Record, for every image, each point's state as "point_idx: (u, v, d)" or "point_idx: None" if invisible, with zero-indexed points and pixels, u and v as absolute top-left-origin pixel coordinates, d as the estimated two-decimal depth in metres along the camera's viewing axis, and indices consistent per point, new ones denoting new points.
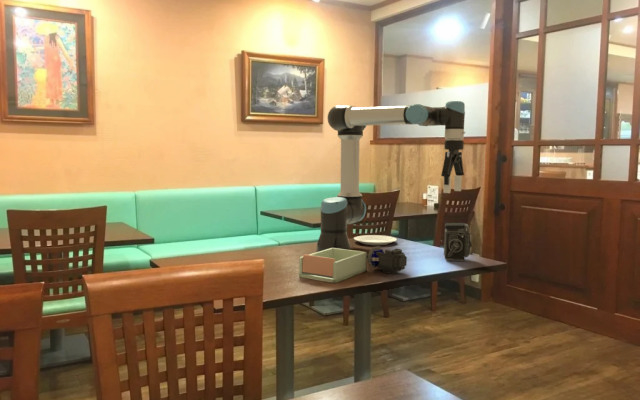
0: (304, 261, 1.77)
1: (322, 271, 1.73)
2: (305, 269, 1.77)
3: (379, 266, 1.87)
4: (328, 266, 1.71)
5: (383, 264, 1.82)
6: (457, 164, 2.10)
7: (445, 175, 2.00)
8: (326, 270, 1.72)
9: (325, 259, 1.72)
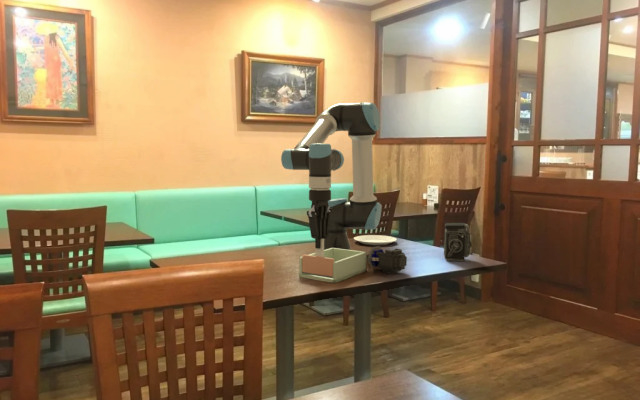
0: (303, 261, 1.77)
1: (322, 271, 1.73)
2: (305, 269, 1.76)
3: (379, 266, 1.87)
4: (328, 266, 1.71)
5: (383, 264, 1.82)
6: (322, 219, 1.73)
7: (315, 238, 1.72)
8: (326, 270, 1.72)
9: (324, 259, 1.72)
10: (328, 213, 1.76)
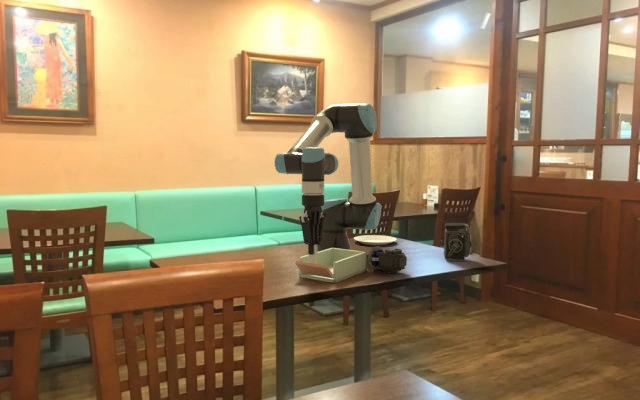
0: (299, 267, 1.75)
1: (320, 274, 1.72)
2: (304, 272, 1.76)
3: (379, 266, 1.87)
4: (324, 272, 1.69)
5: (383, 264, 1.82)
6: (315, 225, 1.70)
7: (308, 244, 1.68)
8: (324, 274, 1.71)
9: (318, 267, 1.69)
10: (321, 218, 1.73)
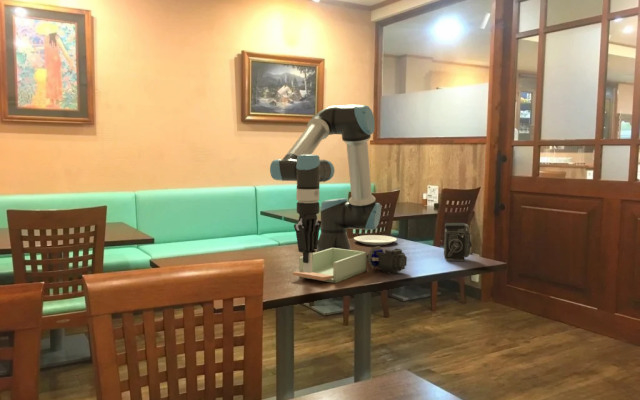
0: None
1: None
2: None
3: (379, 266, 1.87)
4: None
5: (383, 264, 1.82)
6: (310, 233, 1.68)
7: (303, 252, 1.66)
8: None
9: (316, 278, 1.68)
10: (317, 226, 1.71)
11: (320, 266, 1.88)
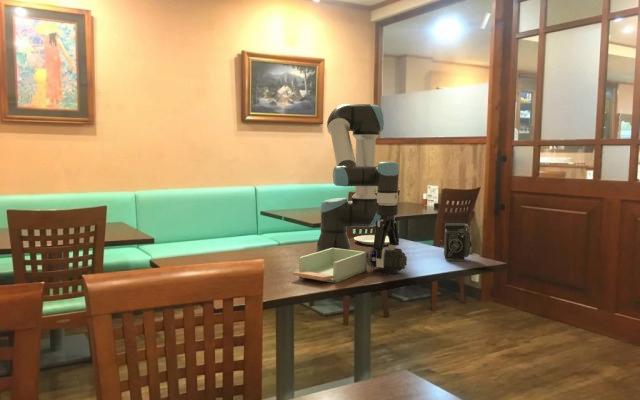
0: None
1: None
2: None
3: None
4: None
5: None
6: (391, 231, 1.88)
7: (377, 248, 1.80)
8: None
9: (316, 278, 1.68)
10: (395, 223, 1.90)
11: (320, 266, 1.88)
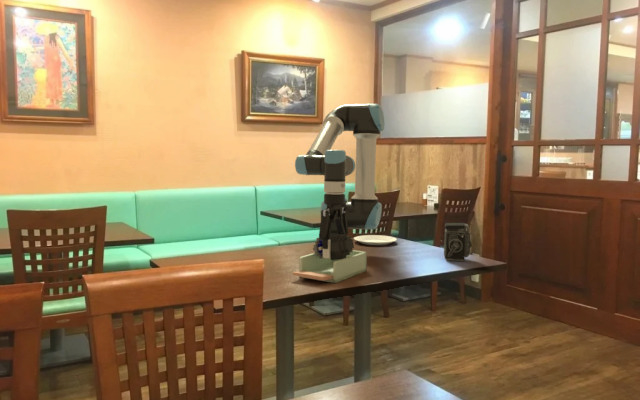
0: None
1: None
2: None
3: None
4: None
5: (330, 250, 1.78)
6: (339, 221, 1.83)
7: (323, 238, 1.76)
8: None
9: (316, 278, 1.68)
10: (344, 214, 1.85)
11: (320, 266, 1.88)
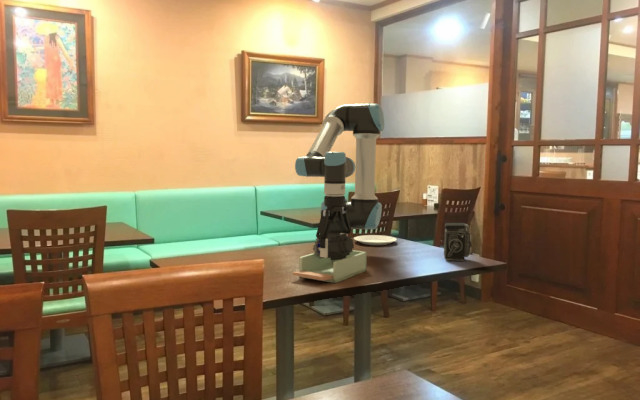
0: None
1: None
2: None
3: None
4: None
5: (330, 250, 1.78)
6: (340, 222, 1.84)
7: (320, 238, 1.74)
8: None
9: (316, 278, 1.68)
10: (344, 214, 1.86)
11: (320, 266, 1.88)
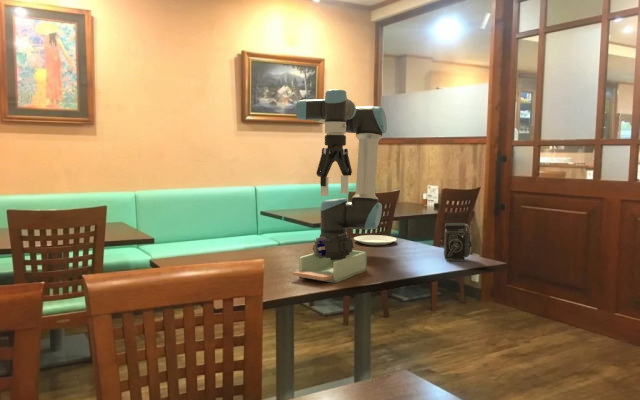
0: None
1: None
2: None
3: (327, 255, 1.81)
4: None
5: (330, 250, 1.78)
6: (341, 162, 1.82)
7: (320, 175, 1.72)
8: None
9: (316, 278, 1.68)
10: (345, 155, 1.84)
11: (320, 266, 1.88)
